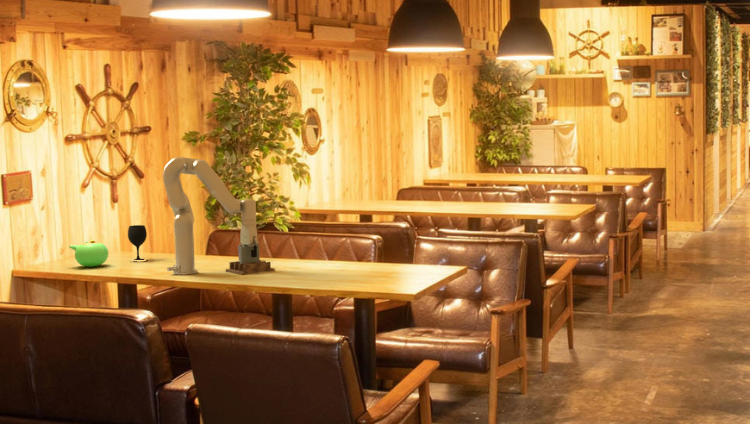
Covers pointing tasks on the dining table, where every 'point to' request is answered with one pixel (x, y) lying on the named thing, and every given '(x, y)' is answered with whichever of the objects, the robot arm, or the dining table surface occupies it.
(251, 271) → the rack
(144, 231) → the wine glass
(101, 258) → the green teapot
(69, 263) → the dining table surface
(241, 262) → the plate
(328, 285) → the dining table surface
